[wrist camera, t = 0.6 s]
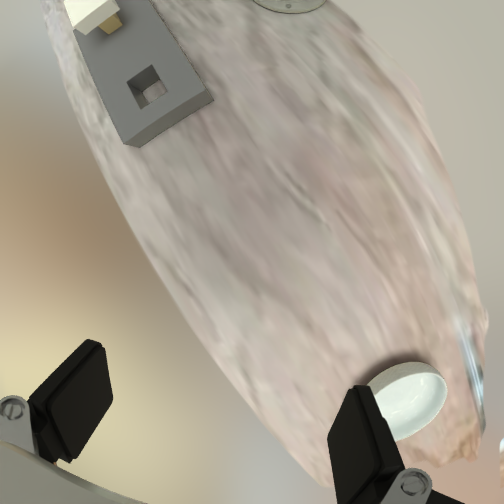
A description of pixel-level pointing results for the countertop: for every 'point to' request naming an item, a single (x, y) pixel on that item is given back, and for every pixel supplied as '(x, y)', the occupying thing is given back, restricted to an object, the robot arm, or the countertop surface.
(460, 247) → the countertop surface
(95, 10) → the plug
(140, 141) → the socket board
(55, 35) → the countertop surface
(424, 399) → the cereal bowl
